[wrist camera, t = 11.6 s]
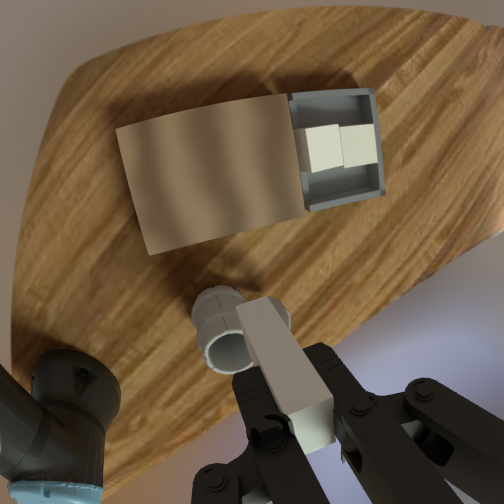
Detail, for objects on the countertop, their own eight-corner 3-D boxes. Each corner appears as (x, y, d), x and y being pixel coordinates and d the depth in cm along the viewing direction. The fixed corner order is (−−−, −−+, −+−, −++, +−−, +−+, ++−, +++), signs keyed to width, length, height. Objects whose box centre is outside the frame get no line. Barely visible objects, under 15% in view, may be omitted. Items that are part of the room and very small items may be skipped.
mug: (183, 292, 40) (188, 348, 29) (270, 266, 42) (304, 313, 31) (199, 337, 43) (210, 398, 32) (279, 313, 45) (311, 366, 34)
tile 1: (377, 162, 37) (367, 160, 39) (373, 123, 35) (362, 123, 37) (344, 168, 36) (334, 165, 38) (339, 127, 34) (329, 127, 37)
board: (151, 243, 37) (149, 255, 33) (121, 129, 32) (115, 129, 28) (293, 208, 40) (305, 216, 36) (275, 97, 34) (286, 93, 31)
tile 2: (298, 171, 36) (312, 173, 34) (292, 129, 34) (305, 128, 32) (330, 163, 38) (343, 164, 36) (324, 124, 36) (338, 124, 34)
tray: (300, 206, 40) (310, 212, 37) (283, 96, 34) (291, 93, 32) (372, 190, 42) (385, 194, 39) (360, 90, 36) (373, 88, 33)
